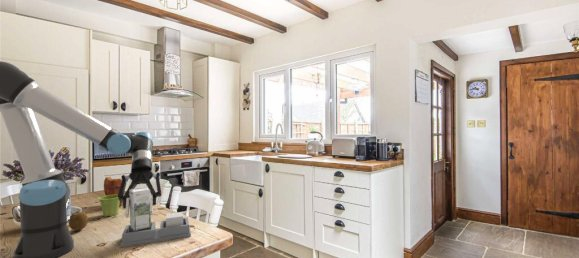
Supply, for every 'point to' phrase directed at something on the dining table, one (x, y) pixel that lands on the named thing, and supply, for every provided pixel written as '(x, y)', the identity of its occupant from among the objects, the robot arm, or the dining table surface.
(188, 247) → the dining table surface
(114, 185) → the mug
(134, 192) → the syrup box
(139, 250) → the dining table surface
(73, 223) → the fruit
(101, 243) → the dining table surface
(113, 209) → the plant pot
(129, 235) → the grey box holder
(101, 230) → the dining table surface
